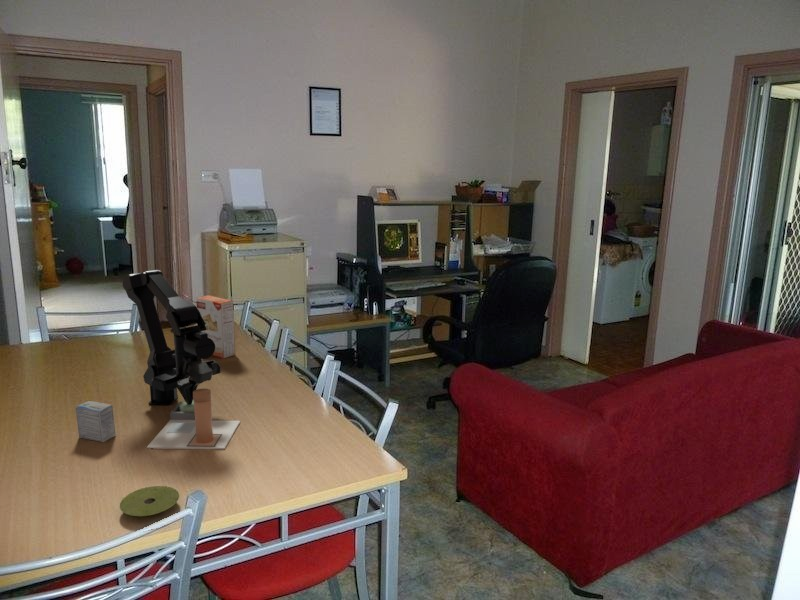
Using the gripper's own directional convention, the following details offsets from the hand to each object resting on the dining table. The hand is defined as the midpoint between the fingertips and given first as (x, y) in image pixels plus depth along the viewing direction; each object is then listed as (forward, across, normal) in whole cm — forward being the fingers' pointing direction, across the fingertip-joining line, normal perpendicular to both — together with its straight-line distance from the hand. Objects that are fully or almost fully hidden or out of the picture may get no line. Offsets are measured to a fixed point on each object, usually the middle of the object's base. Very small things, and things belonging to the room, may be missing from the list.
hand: (189, 404), depth 166 cm
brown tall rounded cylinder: (+3, -8, -16) cm, 19 cm away
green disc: (+4, -34, -32) cm, 47 cm away
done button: (+3, 0, 0) cm, 3 cm away
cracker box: (+4, +41, +37) cm, 56 cm away
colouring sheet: (+3, -7, -11) cm, 14 cm away
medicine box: (+4, -22, +8) cm, 24 cm away
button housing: (+3, 0, 0) cm, 3 cm away
